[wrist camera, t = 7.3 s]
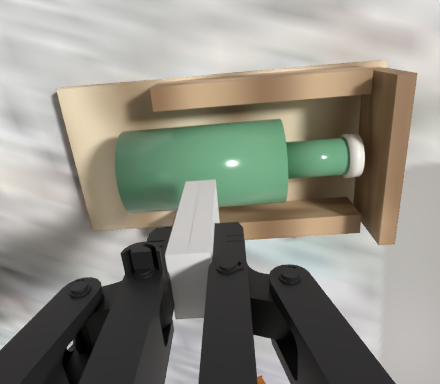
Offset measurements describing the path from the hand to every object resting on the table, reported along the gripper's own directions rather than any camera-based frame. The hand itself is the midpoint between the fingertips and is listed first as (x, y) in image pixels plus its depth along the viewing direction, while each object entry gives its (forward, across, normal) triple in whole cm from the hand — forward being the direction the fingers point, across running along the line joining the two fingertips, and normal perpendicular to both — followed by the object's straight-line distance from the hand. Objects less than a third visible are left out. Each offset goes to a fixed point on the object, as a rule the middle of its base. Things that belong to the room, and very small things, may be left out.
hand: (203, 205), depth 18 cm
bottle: (+6, -5, 0) cm, 8 cm away
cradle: (+10, +1, 0) cm, 10 cm away
